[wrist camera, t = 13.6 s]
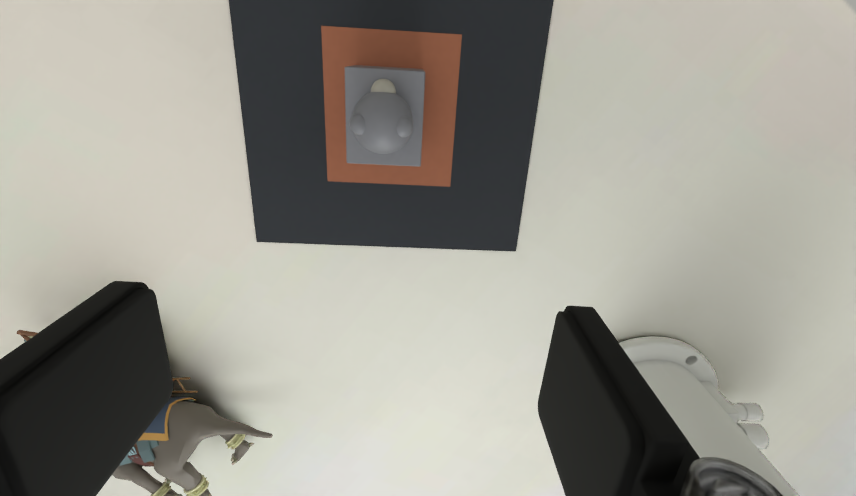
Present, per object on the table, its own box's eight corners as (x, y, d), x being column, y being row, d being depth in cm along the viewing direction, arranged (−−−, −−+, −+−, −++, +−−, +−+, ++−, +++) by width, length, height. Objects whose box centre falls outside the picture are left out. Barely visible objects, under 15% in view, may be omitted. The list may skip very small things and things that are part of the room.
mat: (560, -53, 23) (561, -53, 23) (515, 250, 31) (515, 251, 30) (220, -78, 22) (219, -78, 22) (257, 241, 30) (256, 242, 29)
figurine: (66, 548, 34) (-113, 394, 28) (118, 479, 40) (-21, 337, 33) (286, 493, 30) (138, 301, 24) (310, 425, 36) (195, 255, 30)
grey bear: (423, 69, 25) (427, 73, 19) (419, 150, 27) (421, 180, 21) (355, 65, 25) (334, 67, 19) (356, 147, 27) (337, 176, 21)
